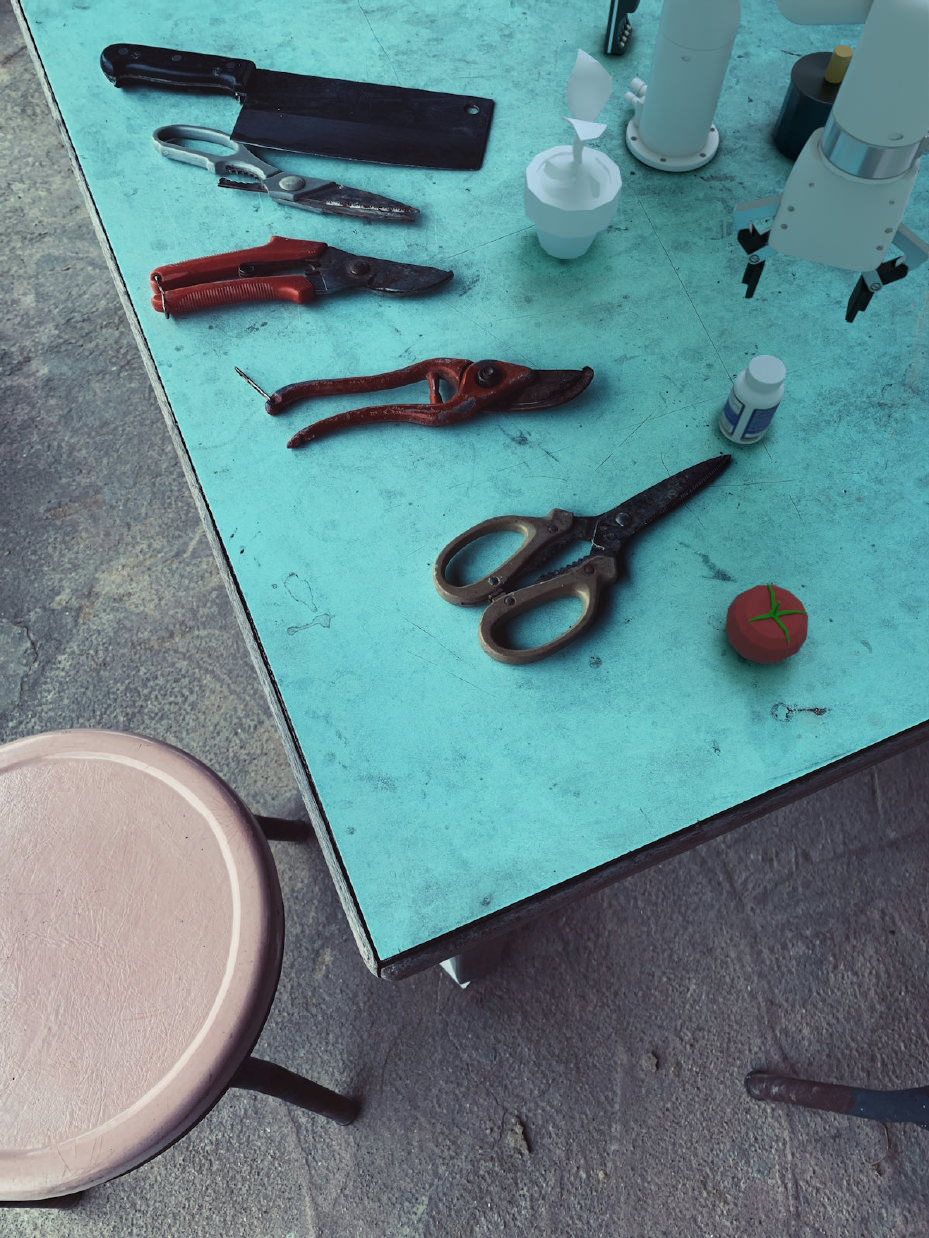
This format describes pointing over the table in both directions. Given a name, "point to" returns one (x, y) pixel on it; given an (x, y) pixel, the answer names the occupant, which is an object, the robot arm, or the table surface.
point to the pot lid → (821, 75)
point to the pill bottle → (753, 400)
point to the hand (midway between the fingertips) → (799, 300)
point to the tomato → (766, 624)
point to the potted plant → (575, 171)
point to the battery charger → (619, 25)
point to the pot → (797, 123)
